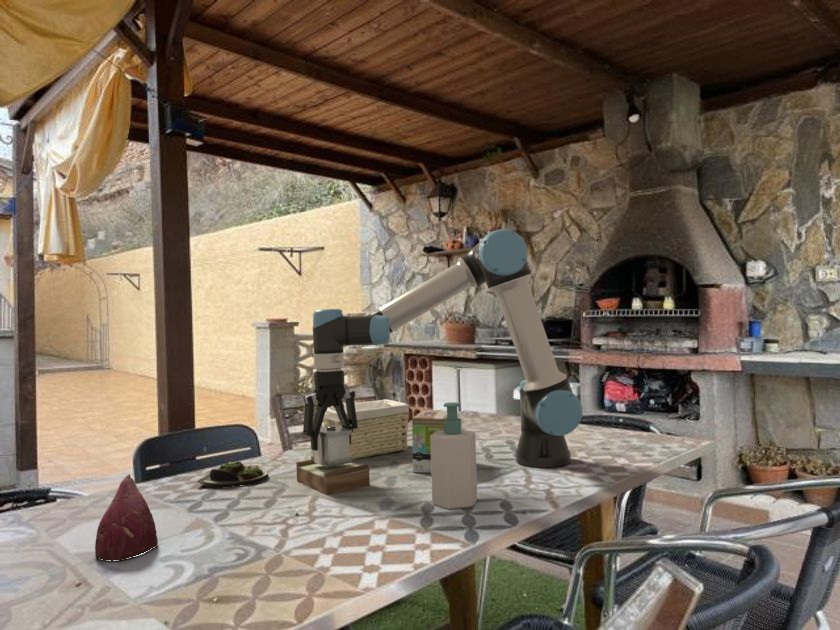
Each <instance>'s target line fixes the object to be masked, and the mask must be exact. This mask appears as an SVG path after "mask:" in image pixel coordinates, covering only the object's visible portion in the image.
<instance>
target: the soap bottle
mask: <svg viewBox="0 0 840 630" xmlns="http://www.w3.org/2000/svg"><path fill="white" fill-rule="evenodd" d="M460 406H461V404H460V403H459V402H445V403H444V404H443V407H444V408H446V410H447V419H444V430H437V431H436V432H434V433H433V434H432V435H431V436H430V447H431V473H430V474H431V498H432V499H431V500H432V501H431V503H432V505H434V506H437V507H440V508H444V509H447V510H457V509H465V508H466V509H467V508H472V507H473V506H474V504H475V503H476V502H477V501H478V477H477V476H478V475H477V471H478V470H477V445H476V432H475V431H474V430H467V429H462V419H461V418H459V417H458V408H459V407H460Z"/></svg>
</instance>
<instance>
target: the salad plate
mask: <svg viewBox="0 0 840 630" xmlns="http://www.w3.org/2000/svg"><path fill="white" fill-rule="evenodd" d="M268 476H269V474H268V472H267V470H266V468H265V467H264V466H263V465H258V464H257V465H253V464H252V465H244V463H242V461H239V460H237V461H235V462H232V461H228V462H225V463H224V464H221V465H220V466H219V467H218V468H216V469H215V468H211V470H208V471H205V472H203V473H202V475H201V478H199V479H198V480H197V481H196V483H197V484H201V485H203V486H205V487H206V486H207V487H206V488H210V487H211V488H210V489H224V488H223V487H228V488H233V487H232V486H237V487H241V486H240V485H245V486H249V485H248V484H251V485H255V484H254V483H256V484H258V482H259V483H261V481H262V482H263V480H264V481H265V480H266V479H267V478H268Z"/></svg>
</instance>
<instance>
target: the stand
mask: <svg viewBox="0 0 840 630" xmlns="http://www.w3.org/2000/svg"><path fill="white" fill-rule="evenodd" d="M295 466H296V482H297V481H298V482H297V483H299V482H300V484H302V483H303V485H304V484H305V485H304V486H306V485H307V487H308V486H309V487H308V488H310V487H311V488H310V489H313V490H315V491H317V490H318V491H317V492H319V491H320V493H322V494H324V495H326V496H329V495H332V494H337V493H342V492H345V491H350V490H353V489H358V488H363V487H368V486H371V485H370V484H371V483H370V465H369V464H361V465H360V464H359V465H358V464H356V463H353V462H352V463H347V464H342V465H337V466H332V467H326V466H323V465H321V464H318V463H315V462H313V461H311V458H310V459H305V460H301V461H296V465H295Z"/></svg>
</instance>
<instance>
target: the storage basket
mask: <svg viewBox="0 0 840 630" xmlns="http://www.w3.org/2000/svg"><path fill="white" fill-rule="evenodd" d="M354 403H355V410H356V417H357V425H358V427H357V429H353V432H352V435H351V444H349V445H350V457H352V458H353V460H357V459H362V457H363V458H369V457H373V456H378V455H386V454H389V453H394V452H399V451H404V450H407V449H408V430H409V429H408V426H409V425H408V424H409V420H408V419H409V411H410V410H409V404H408V403H405V402H400V401H397V400H392V399H386V398H385V399H381V400H369V401H368V400H367V401H361V402H354ZM343 405H344V410H345V412H346V415H347V408H346V403H343ZM347 418H348V415H347ZM323 425H324V426H323V427H326V426H333V425H335V426H339V427H342V425H341V423H340V420H339V417H338V415H337V412H336V409H335V408H334V407H333V406H331V407H328V408H327V411H326V412H325V415H324V418H323Z"/></svg>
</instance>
